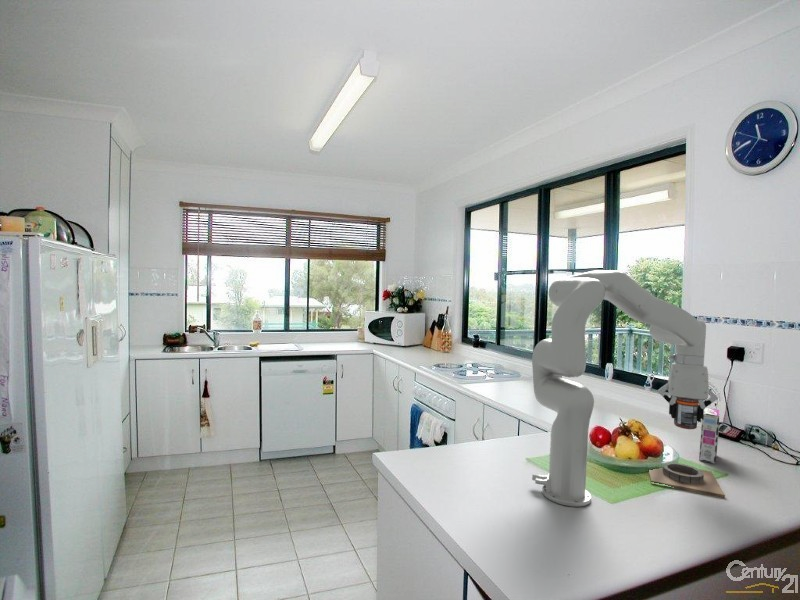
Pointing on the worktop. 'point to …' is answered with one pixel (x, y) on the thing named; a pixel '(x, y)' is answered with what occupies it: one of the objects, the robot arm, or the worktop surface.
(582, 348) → the robot arm
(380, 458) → the worktop surface
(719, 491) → the collar board
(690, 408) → the supplement bottle
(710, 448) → the candy bar box
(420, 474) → the worktop surface
